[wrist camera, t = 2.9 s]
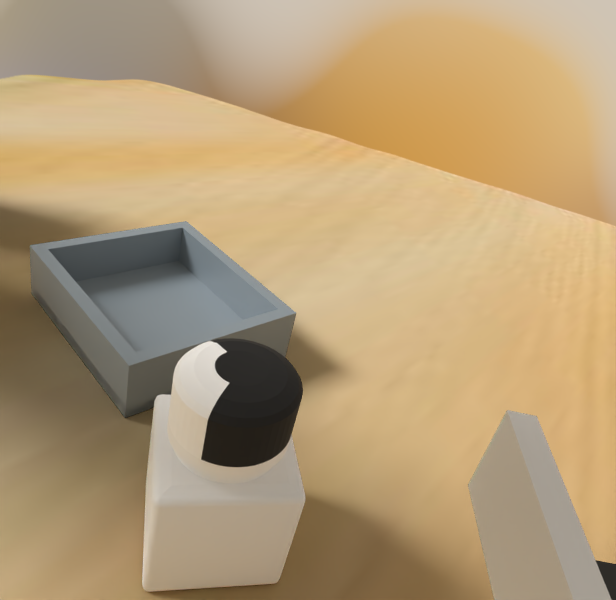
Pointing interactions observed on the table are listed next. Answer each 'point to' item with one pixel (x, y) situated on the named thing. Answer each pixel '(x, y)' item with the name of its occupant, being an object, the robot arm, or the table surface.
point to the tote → (150, 305)
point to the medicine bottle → (223, 470)
